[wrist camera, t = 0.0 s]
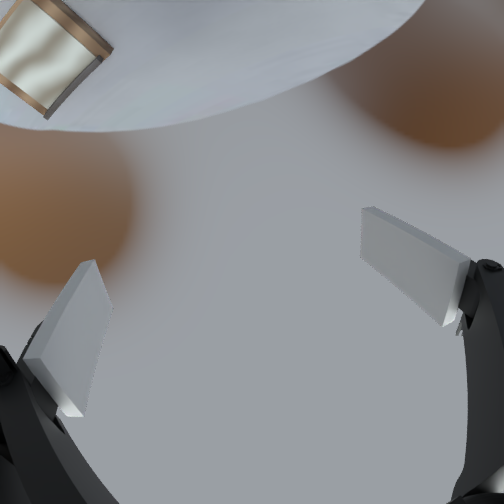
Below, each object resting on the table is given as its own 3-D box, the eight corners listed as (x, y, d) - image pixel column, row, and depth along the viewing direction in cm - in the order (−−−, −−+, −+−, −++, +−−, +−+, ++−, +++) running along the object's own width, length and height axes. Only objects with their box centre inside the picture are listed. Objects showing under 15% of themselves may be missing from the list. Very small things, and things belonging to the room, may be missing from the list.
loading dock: (-17, 55, 18) (-32, 68, 15) (39, -18, 13) (24, -14, 11) (53, 109, 32) (45, 125, 30) (113, 48, 28) (107, 59, 26)
